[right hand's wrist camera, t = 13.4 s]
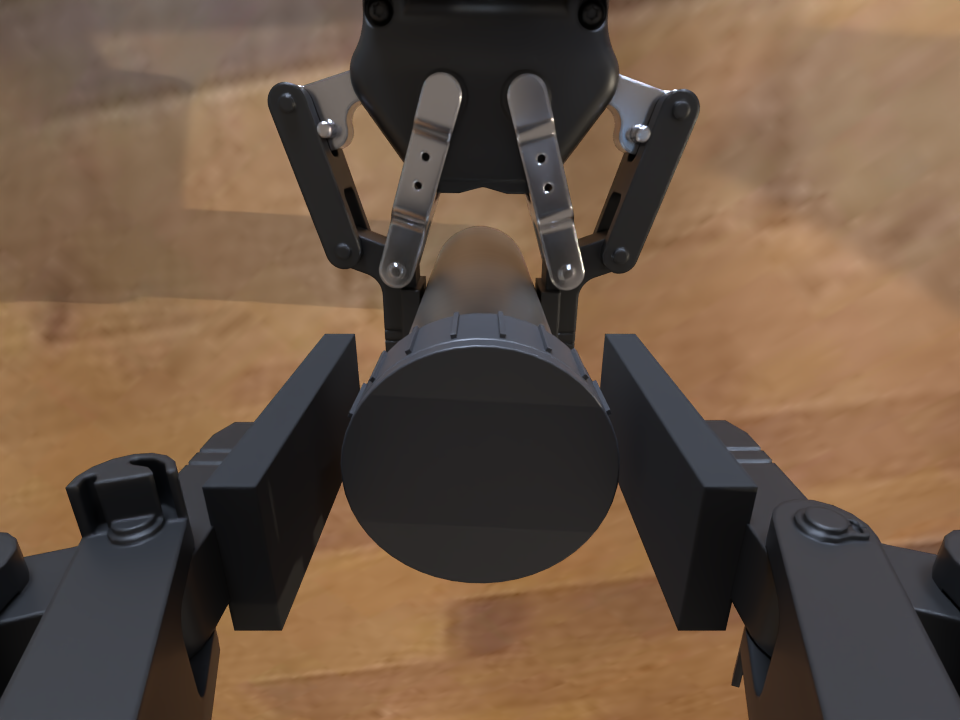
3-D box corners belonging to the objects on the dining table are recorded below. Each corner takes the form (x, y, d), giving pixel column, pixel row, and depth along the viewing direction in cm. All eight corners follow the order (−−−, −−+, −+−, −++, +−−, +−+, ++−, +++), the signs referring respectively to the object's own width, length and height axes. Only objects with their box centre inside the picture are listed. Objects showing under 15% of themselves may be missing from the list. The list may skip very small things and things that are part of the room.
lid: (548, 265, 11) (562, 290, 9) (635, 477, 12) (662, 533, 11) (313, 369, 12) (281, 412, 10) (426, 553, 13) (418, 618, 12)
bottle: (503, 210, 25) (540, 323, 10) (539, 293, 26) (621, 508, 11) (419, 249, 26) (327, 414, 10) (458, 328, 27) (430, 576, 12)
